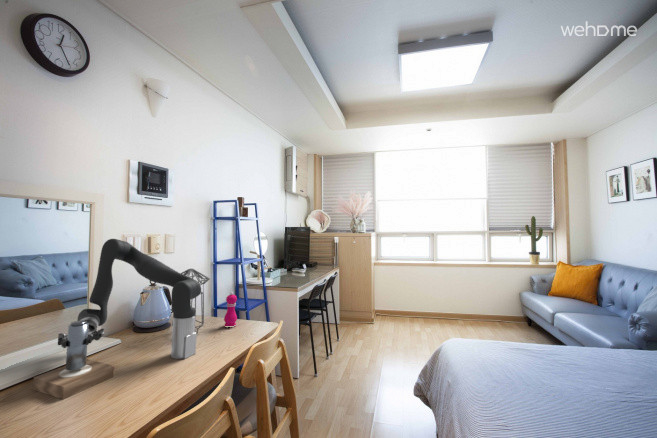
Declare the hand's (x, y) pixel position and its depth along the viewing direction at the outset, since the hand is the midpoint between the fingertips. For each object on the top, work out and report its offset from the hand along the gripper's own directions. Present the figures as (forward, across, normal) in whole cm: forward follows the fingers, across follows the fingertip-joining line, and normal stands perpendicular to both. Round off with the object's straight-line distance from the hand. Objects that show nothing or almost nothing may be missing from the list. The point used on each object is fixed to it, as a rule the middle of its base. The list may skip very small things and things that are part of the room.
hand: (76, 343), depth 103 cm
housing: (-3, 0, +9) cm, 9 cm away
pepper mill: (-41, +63, +15) cm, 77 cm away
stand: (-2, 0, +15) cm, 15 cm away
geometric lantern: (-39, +40, +15) cm, 58 cm away
